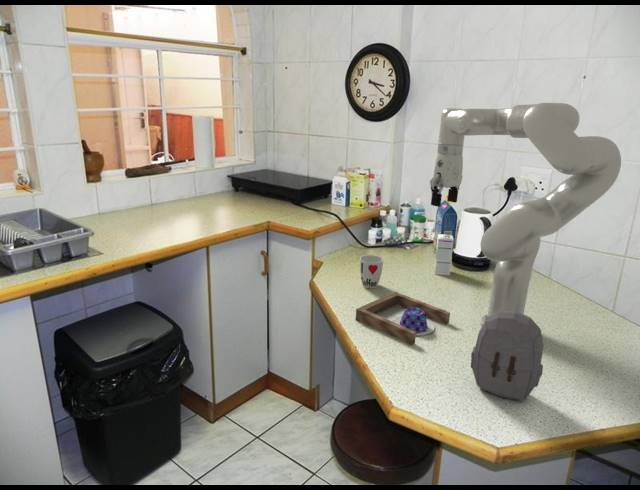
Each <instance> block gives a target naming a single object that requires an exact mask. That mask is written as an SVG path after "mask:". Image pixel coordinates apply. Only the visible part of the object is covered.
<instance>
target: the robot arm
mask: <svg viewBox="0 0 640 490" xmlns="http://www.w3.org/2000/svg"><path fill="white" fill-rule="evenodd" d="M440 116H441V117H440V126H439V135H438V144H437V152H436V153H437V156H436V161H435V165H434V168H433V169H434V171H433V177H432V178H431V179H430V181H429V185H430V190H431V192H430V193H431V199H430V200H431V201H430V205H431V206H432V207H437V208H438V207H440V206H441V203H442V197H443V195H442V191H443V190H444V188H445V189H448V193H447V195H448V201H450V202H452V203H457V202H458V195H459V190H460V186H461V184H462V180H463V166H464V165H463V163H464V157H463V152H464V151H463V150H464V143H465V136H468V137H469V136H509V137H511V138H515V139H529V140H530V142H531V143H532V144H533V146H534V147H535V148H536V149H537V150H538V152H539V153H540V154H541V155H542V156H543V157H544V158H545V160H546V161H547V162H548V163H549V165H550V166H552V168H553V169H554V170H556V171H558V172H559V173H561V174H564V175H569V177H568V178H566V179H565V180H564V181H562V182H560V183H559V184H558V185H557V186H556V187H555V188H554V189H553V190H552V191H550V192H549V193H548V194H546V195H545V196H543V197H541V198H538V199H533V200H528V201H523V202H520V203H518V204H515V205H514V206H513V207H511V208H509V210H507V211H506V212H505V213H504V214H502V215H501V217H499V218H498V219H497V220H496V221H495V222H494V223H493V224H491V225H490V227H488V228H487V229H486V230H485V232H484V233H483V235H482V236H481V238H480V239H481V240H480V250H481V253H482V254H483V255H484V257H485V258H486V259H488V260H490V261H492V262H496V264H495V268H494V274H493V278H492V287H491V292H490V293H491V294H490V300H489V306H488V311H487V312H488V313H487V314H484V315H483V316H482V317H481V320H480V321H481V322H480V323H481V326H483V324H484V322H485V319H486V318H487V317H489V316H491V315H494V314H496V313H498V312H500V311H517V312H519V313H522V314H524V315H526V316H528V315H527V314H525V308H526V305H527V303H526V302H527V296H528V293H529V286H530V281H531V277H532V272H533V267H534V263H535V261H536V258H537V255H538V253H539V250H540V246H541V238H543V237H547V236H550V235H553V234H555V233H557V232H558V231H560V230H561V229H562V228H563V227H564V226H566V225H567V224H568V223H570V222H571V221H572V220H573V219H575V218H576V217H578V216H579V215H580V214H581V213H582V212H584V210H586V209H587V208H589V207H590V206H591V205H592V204H594V203H595V202H597V201H598V200H600V198H601V197H603V196H604V195H605V194H606V193H607V192H608V191H609V190H610V189H611V188H612V186H613V185H614V184H615V182H616V180H617V179H618V176H619V174H620V172H621V166H622V156H621V152H620V149H619V147H618V145H617V144H616V143H615V142H614V141H613V140H611V139H610V138H607V137H603V136H597V135H596V136H595V135H593V136H591V135H590V136H589V135H588V136H578V135H577V134H576V133H575V132H576V130H577V129H578V126H579V124H580V115H579V112H578V109H577V108H575V107H574V106H573V105H571V104H568V103H563V102H540V103H535V104H517V105H513V106H512V108H456V107H455V108H452V107H451V108H450V107H449V108H445V109H443V110H442V112H441V115H440Z"/></svg>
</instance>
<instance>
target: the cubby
mask: <svg viewBox="0 0 640 490" xmlns="http://www.w3.org/2000/svg"><path fill="white" fill-rule="evenodd" d="M396 306H398V307H401V308H404V310H405V309H408V308H410V307H412V308H413V307H416V308H419V309H422V310H423V311H424V312H425V314H426V318H427V319H430V320H433V321H434V322H438V323H441V324H443V325H449V324H450V318H451V312H450V311H447V310H444V309H442V308H440V307H436V306H434V305H431V304H429V303H426V302H423V301H421V300H418V299H415V298H413V297H410V296H407V295H406V294H402V293H400V292H396V291H394V292H392V293H390V294H387V295H384V296H383V297H381V298H378V299H376V300H374V301H372V302H369V303H367V304H364V305H361V306H360V307H358V308H356V310H355V311H356V312H355V321H358V322H360V323H362V324H364V325H367V326H368V327H371V328H373V329H376V330H377V331H379V332H382V333H384V334H386V335H389V336H390V337H393V338H395V339H397V340H399V341H401V342H403V343H406V344H408V345H410V346H413V345H415V344H416V336H417V335H416V332H415V331H413V330H411V329H408V328H406V327H404V326H401V325H400V323H399V324H397V323H394V322H393V320H389V319H387V318H385V317H383V316H381V315H378V314H381V313H383V312H385V311H387V310H390V309H391V308H393V307H396Z"/></svg>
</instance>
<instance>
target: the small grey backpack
mask: <svg viewBox="0 0 640 490" xmlns="http://www.w3.org/2000/svg"><path fill="white" fill-rule="evenodd" d="M526 315H527V314H525V313H524V314H522V313H519V312H517V311H500V312H498V313H496V314H494V315H491V316H489V317H487V318H486V319H485V322H484V324H483V325H481V327H480V329H479V331H478V334H477V339H476V343H475V346H473V348H472V350H471V354H470V356H471V357H470V368H471V369H472V373H473V376H474V379H475V384H476V385H477V386H478V387H479V388H481V389H482V390H483V391H486V392H489V393H491V394H493V395H496V396H498V397H502V398H507V399H510V400H516V401H517V400H518V401H524V400H527V398H528V397H529V396H530V395H531V393H532V391H533V390H534V389H535V388H536V387H538V386H539V382H540V380H541V377H542V376H543V372H544V371H543V370H544V365H543V364H542V359H543V352H544V351H543V350H544V346H545V345H544V341H543V337H542V336H543V335H542V329H541V327H540V326H539V325H538V324H537V323H536V322H535V321H534V320H533V319H532V318H531V316H528V315H527V316H526Z"/></svg>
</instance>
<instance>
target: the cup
mask: <svg viewBox="0 0 640 490" xmlns="http://www.w3.org/2000/svg"><path fill="white" fill-rule="evenodd" d="M383 265H384V258H383V257H381V256H379V255H373V254H367V255H366V254H365V255H362V256H360V257H359V272H360V280H361V283H362V287H363V288H366V289H376V288H377V287H378V285H379V282H380V279H381V277H382V273H383Z"/></svg>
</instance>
